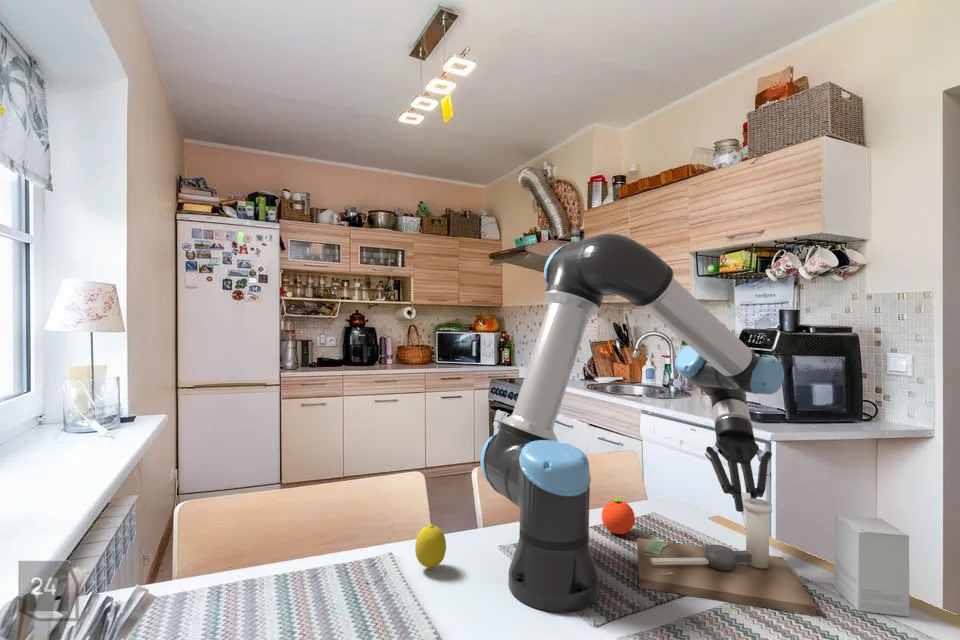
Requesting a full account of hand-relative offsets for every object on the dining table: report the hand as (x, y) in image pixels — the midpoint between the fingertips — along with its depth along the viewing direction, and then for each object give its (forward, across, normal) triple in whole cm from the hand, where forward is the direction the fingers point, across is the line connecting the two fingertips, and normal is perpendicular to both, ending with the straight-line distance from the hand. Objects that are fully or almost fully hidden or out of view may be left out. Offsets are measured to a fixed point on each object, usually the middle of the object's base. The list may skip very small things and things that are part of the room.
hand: (750, 527), depth 94 cm
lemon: (+21, +57, +12) cm, 62 cm away
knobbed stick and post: (+9, +8, +3) cm, 13 cm away
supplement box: (+12, -15, +3) cm, 19 cm away
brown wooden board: (+11, +8, +2) cm, 13 cm away
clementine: (+1, +25, -8) cm, 26 cm away
